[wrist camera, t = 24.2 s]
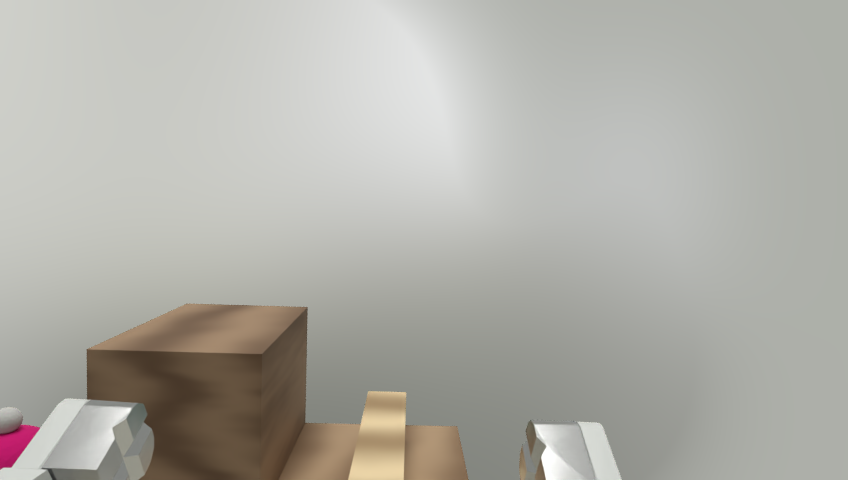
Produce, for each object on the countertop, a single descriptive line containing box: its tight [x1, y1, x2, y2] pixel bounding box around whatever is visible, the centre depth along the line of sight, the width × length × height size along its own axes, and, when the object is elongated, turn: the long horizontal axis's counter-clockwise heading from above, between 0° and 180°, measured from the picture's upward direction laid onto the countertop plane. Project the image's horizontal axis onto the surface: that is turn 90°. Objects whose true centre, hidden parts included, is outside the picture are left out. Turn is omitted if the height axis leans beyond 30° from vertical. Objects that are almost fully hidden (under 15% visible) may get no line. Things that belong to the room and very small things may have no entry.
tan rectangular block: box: [348, 391, 406, 480], centre depth 34 cm, size 18×3×4 cm, turn 1°
